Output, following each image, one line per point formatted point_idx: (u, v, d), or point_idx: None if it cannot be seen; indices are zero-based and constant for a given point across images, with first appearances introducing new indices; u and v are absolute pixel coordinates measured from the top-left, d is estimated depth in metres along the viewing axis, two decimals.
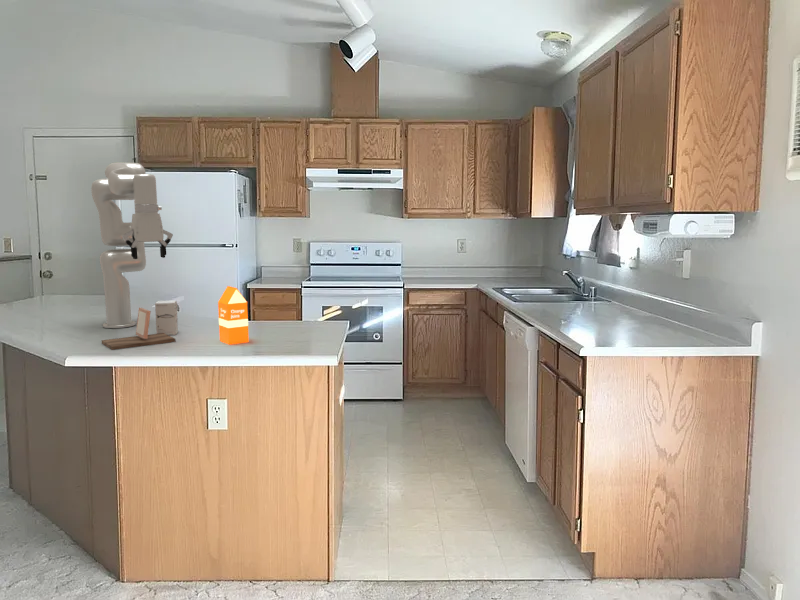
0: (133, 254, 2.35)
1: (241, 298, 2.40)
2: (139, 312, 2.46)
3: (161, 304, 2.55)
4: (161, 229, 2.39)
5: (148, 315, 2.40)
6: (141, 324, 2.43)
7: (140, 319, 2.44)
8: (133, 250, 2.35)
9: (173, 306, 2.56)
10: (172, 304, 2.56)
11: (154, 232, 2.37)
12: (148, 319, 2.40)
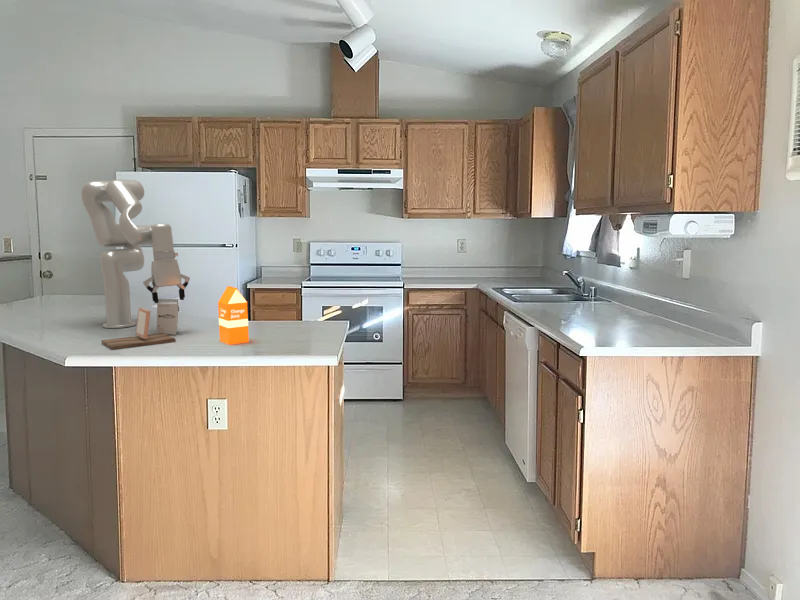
0: (154, 298, 2.53)
1: (241, 298, 2.40)
2: (139, 312, 2.46)
3: (163, 304, 2.54)
4: (179, 273, 2.57)
5: (148, 315, 2.40)
6: (141, 324, 2.43)
7: (140, 319, 2.44)
8: (154, 295, 2.53)
9: (175, 307, 2.55)
10: (174, 305, 2.55)
11: (172, 277, 2.55)
12: (148, 319, 2.40)
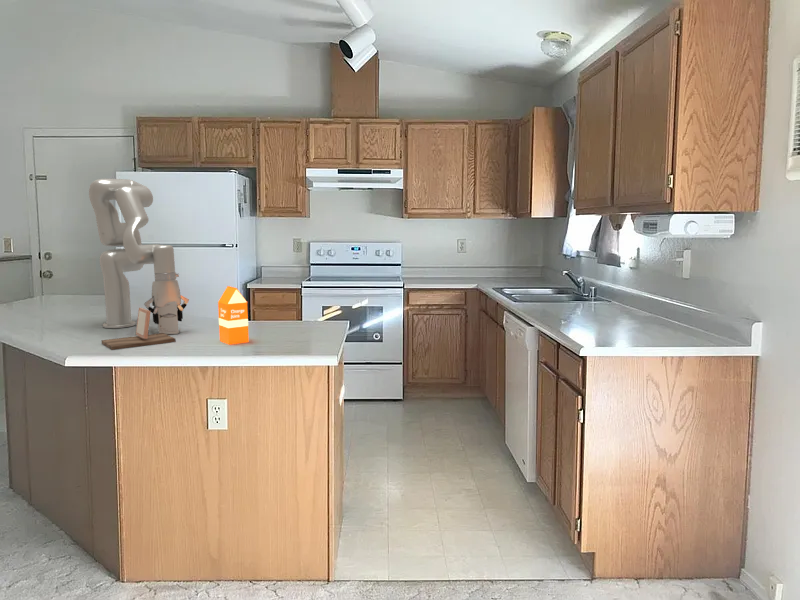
0: (155, 319, 2.56)
1: (241, 298, 2.40)
2: (139, 312, 2.46)
3: None
4: (179, 295, 2.59)
5: (148, 315, 2.40)
6: (141, 324, 2.43)
7: (140, 319, 2.44)
8: (155, 316, 2.55)
9: (175, 305, 2.58)
10: (174, 303, 2.57)
11: (172, 298, 2.57)
12: (148, 319, 2.40)
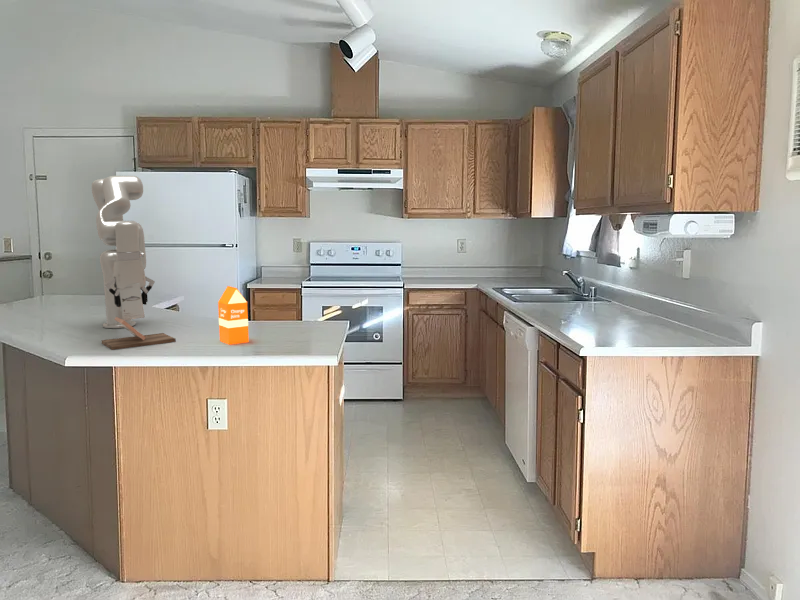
0: (116, 302, 2.37)
1: (241, 298, 2.40)
2: (118, 322, 2.42)
3: None
4: (143, 276, 2.40)
5: (126, 324, 2.35)
6: (130, 331, 2.41)
7: (125, 327, 2.41)
8: (116, 298, 2.37)
9: (138, 287, 2.39)
10: (137, 285, 2.38)
11: (136, 279, 2.39)
12: (130, 326, 2.36)
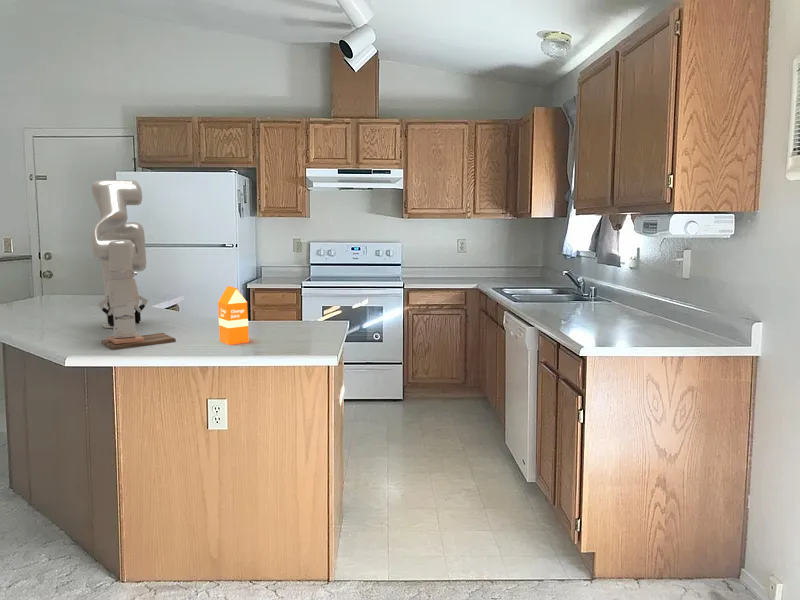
0: (109, 321, 2.36)
1: (241, 298, 2.40)
2: None
3: (119, 304, 2.36)
4: (136, 295, 2.39)
5: (120, 341, 2.35)
6: None
7: None
8: (109, 318, 2.35)
9: (133, 306, 2.38)
10: (131, 304, 2.37)
11: (129, 298, 2.37)
12: (124, 340, 2.35)
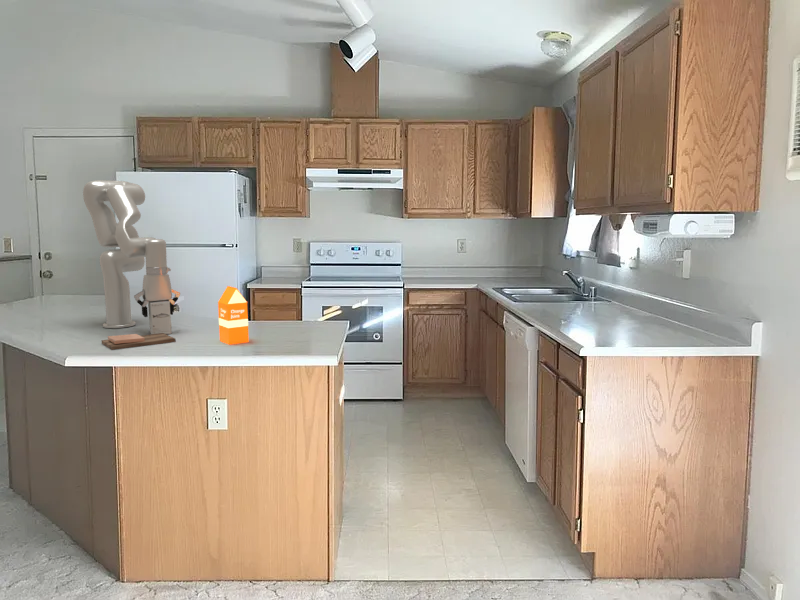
0: (144, 312, 2.56)
1: (241, 298, 2.40)
2: None
3: (156, 304, 2.56)
4: (170, 289, 2.59)
5: (120, 341, 2.35)
6: None
7: None
8: (144, 309, 2.56)
9: (168, 305, 2.58)
10: (167, 303, 2.58)
11: (163, 292, 2.58)
12: (124, 340, 2.35)
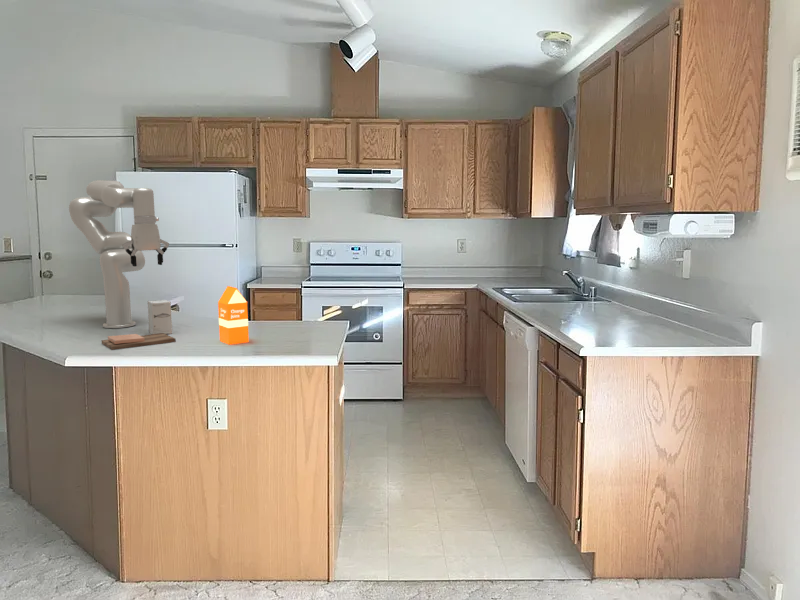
0: (132, 262, 2.56)
1: (241, 298, 2.40)
2: None
3: (158, 304, 2.56)
4: (158, 239, 2.59)
5: (120, 341, 2.35)
6: None
7: None
8: (132, 258, 2.56)
9: (169, 305, 2.59)
10: (168, 303, 2.58)
11: (152, 241, 2.58)
12: (124, 340, 2.35)
